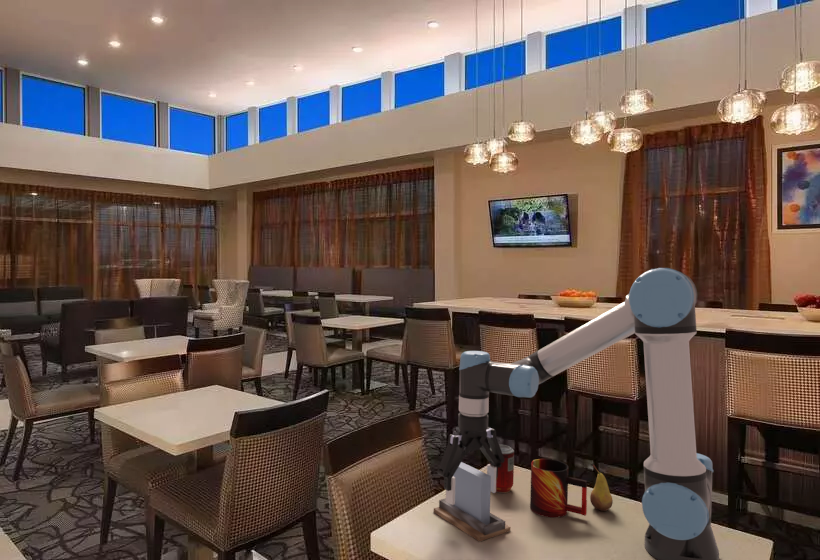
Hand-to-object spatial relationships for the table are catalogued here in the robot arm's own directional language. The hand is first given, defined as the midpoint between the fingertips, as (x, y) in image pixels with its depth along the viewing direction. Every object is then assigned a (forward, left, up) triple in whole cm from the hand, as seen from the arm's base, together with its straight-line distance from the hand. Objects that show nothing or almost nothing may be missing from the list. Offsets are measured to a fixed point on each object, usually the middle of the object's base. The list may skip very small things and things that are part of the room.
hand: (471, 496), depth 135 cm
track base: (0, 0, -6) cm, 6 cm away
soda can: (+11, -21, -6) cm, 25 cm away
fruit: (-13, -35, -6) cm, 38 cm away
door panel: (+1, 0, -5) cm, 5 cm away
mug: (-7, -24, -6) cm, 26 cm away
